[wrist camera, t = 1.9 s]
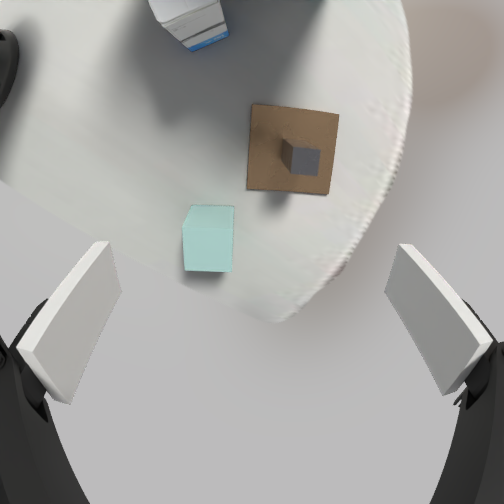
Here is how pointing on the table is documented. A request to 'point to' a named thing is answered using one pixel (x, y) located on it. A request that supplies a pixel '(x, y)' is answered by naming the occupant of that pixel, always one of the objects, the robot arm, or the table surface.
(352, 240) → the table surface
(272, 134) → the brown peg stand
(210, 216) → the mint foam cube
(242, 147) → the table surface
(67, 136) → the table surface
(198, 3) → the ink box
